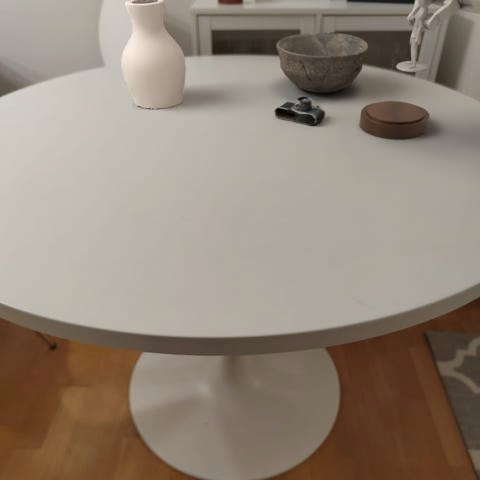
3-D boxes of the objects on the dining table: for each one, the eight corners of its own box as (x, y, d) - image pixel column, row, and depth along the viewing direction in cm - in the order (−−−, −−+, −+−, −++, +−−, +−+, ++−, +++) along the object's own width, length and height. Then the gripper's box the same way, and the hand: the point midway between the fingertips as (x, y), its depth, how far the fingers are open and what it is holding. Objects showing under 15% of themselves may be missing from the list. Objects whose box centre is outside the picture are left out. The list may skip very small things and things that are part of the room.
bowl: (322, 111, 98) (326, 61, 92) (257, 89, 110) (257, 44, 104) (380, 88, 108) (387, 41, 102) (315, 70, 120) (318, 27, 114)
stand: (414, 112, 96) (417, 98, 94) (436, 137, 86) (440, 122, 85) (353, 115, 96) (354, 100, 94) (368, 140, 86) (370, 125, 84)
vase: (200, 94, 109) (192, -4, 96) (167, 114, 100) (152, 9, 86) (151, 86, 114) (137, -8, 101) (115, 105, 105) (94, 4, 92)
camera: (286, 109, 100) (286, 89, 97) (327, 119, 95) (330, 98, 92) (273, 116, 97) (273, 96, 94) (315, 127, 92) (317, 106, 89)
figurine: (399, 61, 81) (413, -19, 73) (430, 64, 79) (448, -19, 71) (393, 70, 78) (407, -13, 70) (425, 73, 76) (443, -13, 68)
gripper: (427, -75, 75) (369, 1, 79) (535, -69, 61) (459, 23, 65) (441, -44, 79) (386, 26, 83) (545, -32, 65) (473, 52, 69)
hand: (419, 25), depth 74 cm, fingers closed on figurine, 2 cm apart
